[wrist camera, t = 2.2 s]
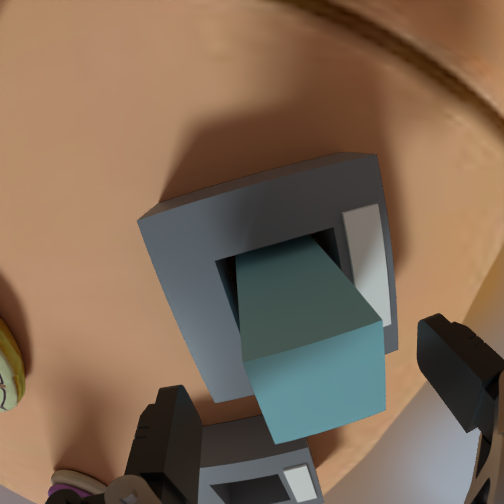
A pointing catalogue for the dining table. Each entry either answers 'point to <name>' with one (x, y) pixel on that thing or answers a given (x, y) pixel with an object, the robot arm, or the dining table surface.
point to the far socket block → (255, 466)
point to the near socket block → (264, 234)
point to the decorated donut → (10, 370)
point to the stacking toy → (75, 483)
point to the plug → (307, 340)
